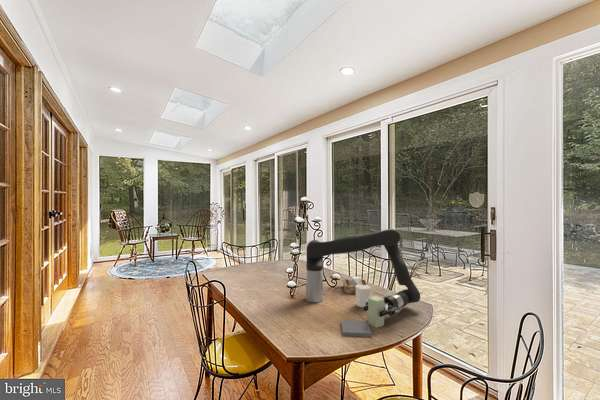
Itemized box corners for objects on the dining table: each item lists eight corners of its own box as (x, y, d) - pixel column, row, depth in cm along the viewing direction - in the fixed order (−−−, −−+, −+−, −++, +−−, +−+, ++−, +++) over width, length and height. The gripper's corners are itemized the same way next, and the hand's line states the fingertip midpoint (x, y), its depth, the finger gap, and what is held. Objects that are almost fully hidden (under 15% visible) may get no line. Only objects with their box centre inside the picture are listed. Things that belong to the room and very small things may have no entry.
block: (376, 327, 136) (376, 301, 135) (368, 323, 140) (368, 297, 139) (383, 325, 138) (384, 299, 138) (375, 321, 142) (375, 295, 142)
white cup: (367, 309, 157) (367, 290, 157) (353, 306, 161) (353, 287, 161) (372, 304, 164) (372, 286, 164) (358, 301, 168) (358, 283, 168)
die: (351, 287, 195) (344, 277, 191) (363, 281, 194) (356, 271, 190) (354, 296, 187) (347, 285, 183) (367, 290, 186) (360, 279, 183)
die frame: (345, 293, 182) (345, 286, 182) (343, 285, 197) (343, 278, 197) (368, 294, 181) (369, 286, 181) (365, 286, 196) (365, 279, 196)
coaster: (342, 335, 128) (342, 332, 128) (341, 323, 140) (341, 320, 140) (371, 336, 127) (371, 333, 127) (367, 324, 139) (367, 321, 139)
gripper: (379, 291, 153) (359, 299, 143) (405, 299, 142) (385, 307, 132) (379, 306, 153) (359, 315, 143) (405, 315, 143) (385, 325, 132)
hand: (372, 311), depth 137 cm, fingers open, 8 cm apart
